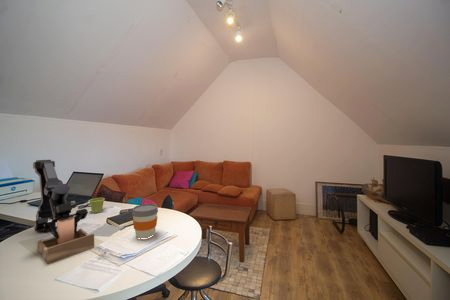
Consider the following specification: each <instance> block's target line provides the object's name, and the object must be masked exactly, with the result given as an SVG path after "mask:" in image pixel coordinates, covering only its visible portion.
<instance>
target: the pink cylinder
mask: <svg viewBox="0 0 450 300" xmlns="http://www.w3.org/2000/svg"><path fill="white" fill-rule="evenodd" d="M56 227H57V228H56V230H57V233H58V236H59V238H58V239H57V245H59V244H62V243H65V242H68V241H71V240H74V217H66V218H62V219H59V220H58V221H57V222H56Z"/></svg>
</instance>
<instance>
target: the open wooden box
mask: <svg viewBox="0 0 450 300" xmlns="http://www.w3.org/2000/svg"><path fill="white" fill-rule="evenodd" d="M36 243H37V251H38V252H39V253H40V255H41V257H42V258H43V259H44V260H45V262H46V263H47V265H50V264H52V263H55V262H58V261H60V260H64V259H66V258H69V257H71V256H74V255H77V254H81V253H83V252H85V251H88V250H91V249H93V248H95V236H94V234H90V235H89V233H87V232H86V231H85V230H83V229H82V228H78V229H77V231H76V233H74V240H71V241H68V242H65V243H62V244H59V245H57V238H56V237H55V236H53V237H51V238H48V239H44V240H41V239H39V240H37V242H36Z"/></svg>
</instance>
